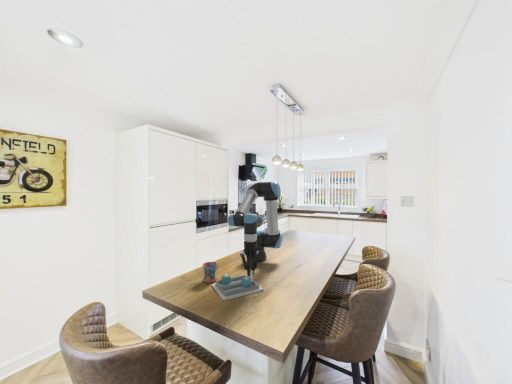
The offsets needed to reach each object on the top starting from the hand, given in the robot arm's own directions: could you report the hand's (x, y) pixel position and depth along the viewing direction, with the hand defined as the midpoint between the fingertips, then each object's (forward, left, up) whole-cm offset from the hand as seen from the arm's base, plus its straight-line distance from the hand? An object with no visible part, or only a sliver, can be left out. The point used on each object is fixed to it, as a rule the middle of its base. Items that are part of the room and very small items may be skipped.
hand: (250, 281), depth 124 cm
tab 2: (+3, 0, -3) cm, 4 cm away
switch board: (+7, -5, -5) cm, 9 cm away
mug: (+17, -23, -5) cm, 28 cm away
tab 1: (+12, -9, -3) cm, 15 cm away
